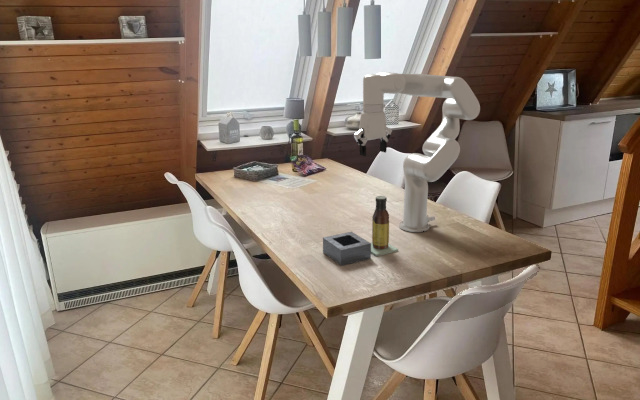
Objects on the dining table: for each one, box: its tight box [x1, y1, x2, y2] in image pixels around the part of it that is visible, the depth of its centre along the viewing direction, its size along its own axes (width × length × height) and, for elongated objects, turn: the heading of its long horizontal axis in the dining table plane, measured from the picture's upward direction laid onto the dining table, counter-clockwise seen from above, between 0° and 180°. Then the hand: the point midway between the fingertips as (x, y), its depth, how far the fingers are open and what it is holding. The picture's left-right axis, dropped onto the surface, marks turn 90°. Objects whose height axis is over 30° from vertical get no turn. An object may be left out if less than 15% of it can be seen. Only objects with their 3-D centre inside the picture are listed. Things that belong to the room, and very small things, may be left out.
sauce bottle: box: [371, 195, 390, 249], centre depth 182 cm, size 7×6×20 cm
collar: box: [322, 231, 372, 267], centre depth 179 cm, size 12×13×6 cm
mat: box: [370, 242, 399, 257], centre depth 185 cm, size 10×10×1 cm
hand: (373, 153), depth 187 cm, fingers open, 9 cm apart
